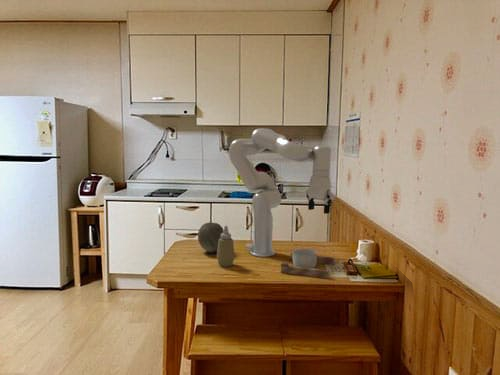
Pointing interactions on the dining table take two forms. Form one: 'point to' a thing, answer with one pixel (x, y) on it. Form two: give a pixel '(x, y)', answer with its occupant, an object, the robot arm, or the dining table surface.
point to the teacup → (304, 258)
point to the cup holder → (309, 271)
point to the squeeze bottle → (225, 249)
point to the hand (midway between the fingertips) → (318, 211)
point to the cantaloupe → (210, 236)
